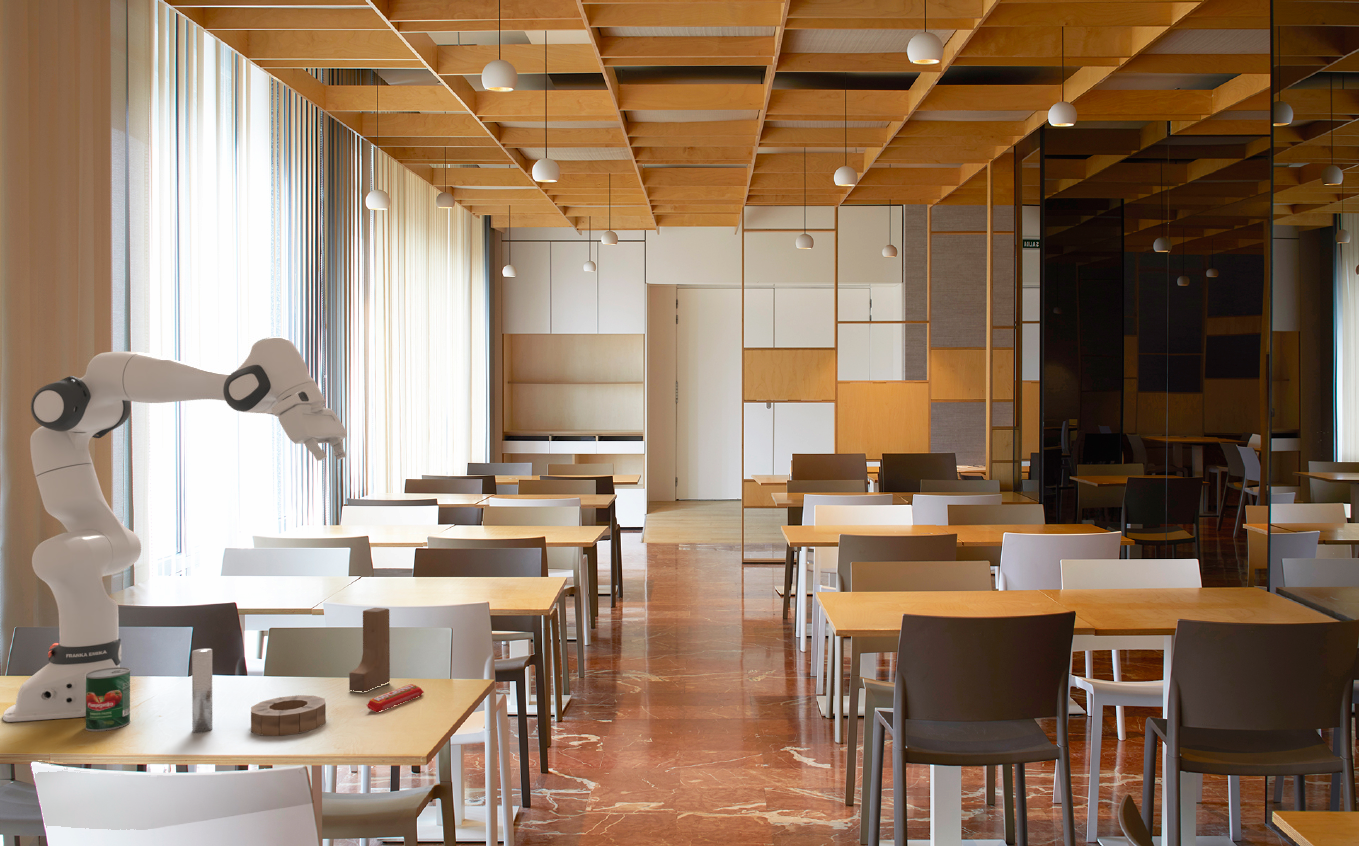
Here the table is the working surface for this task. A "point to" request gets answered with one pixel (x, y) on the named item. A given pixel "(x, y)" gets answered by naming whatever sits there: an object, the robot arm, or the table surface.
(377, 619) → the wooden block
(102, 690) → the canned tomato
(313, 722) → the walnut ring
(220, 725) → the table surface
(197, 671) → the steel peg
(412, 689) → the candy bar
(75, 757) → the table surface
